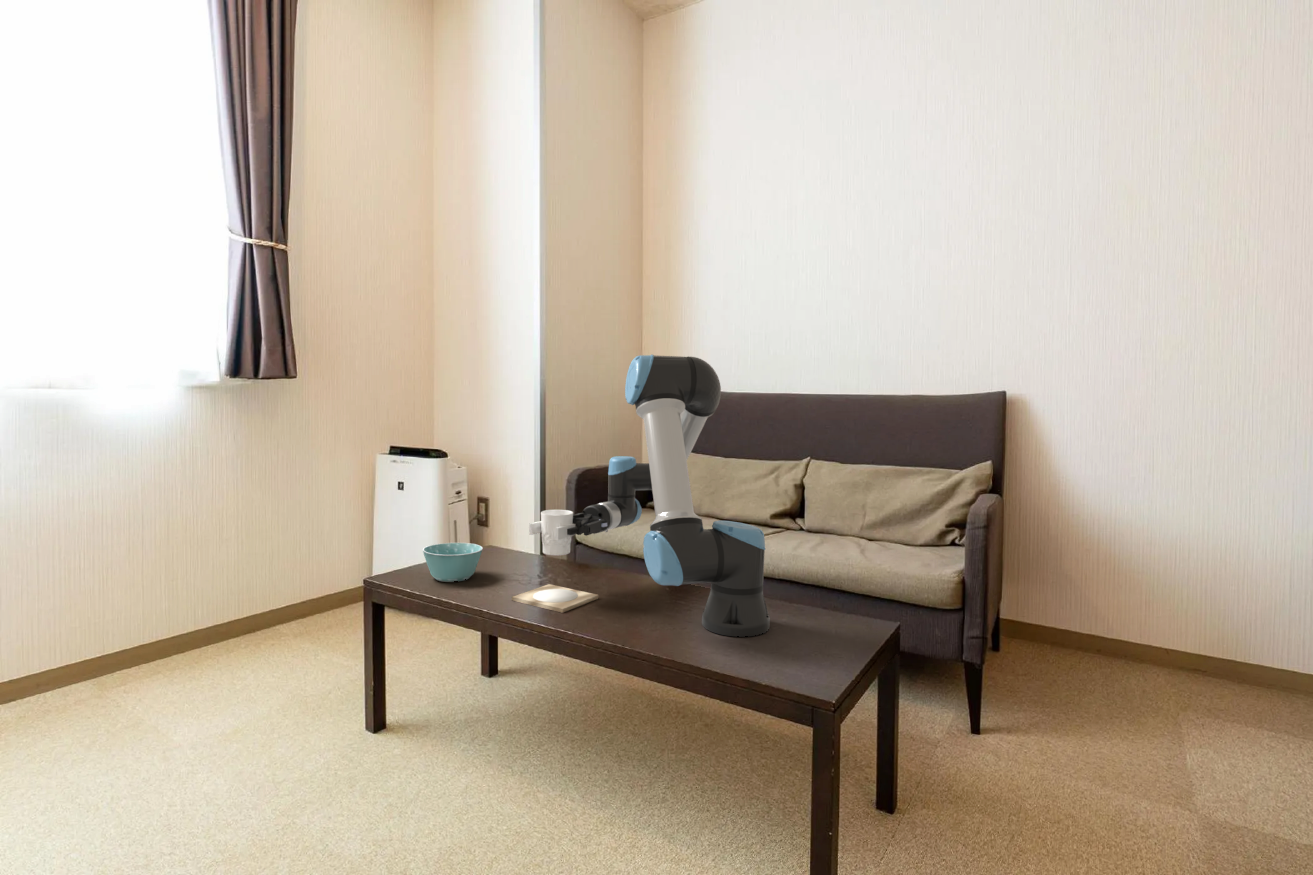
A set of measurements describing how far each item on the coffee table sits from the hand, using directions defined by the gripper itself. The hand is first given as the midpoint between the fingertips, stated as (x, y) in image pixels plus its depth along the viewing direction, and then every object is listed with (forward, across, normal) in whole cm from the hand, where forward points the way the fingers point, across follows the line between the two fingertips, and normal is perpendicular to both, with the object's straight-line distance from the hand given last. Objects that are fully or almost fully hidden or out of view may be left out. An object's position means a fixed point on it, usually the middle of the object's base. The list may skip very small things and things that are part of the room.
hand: (543, 531), depth 171 cm
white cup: (-5, 0, -6) cm, 8 cm away
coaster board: (-5, 0, -18) cm, 18 cm away
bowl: (-3, +35, -18) cm, 39 cm away
